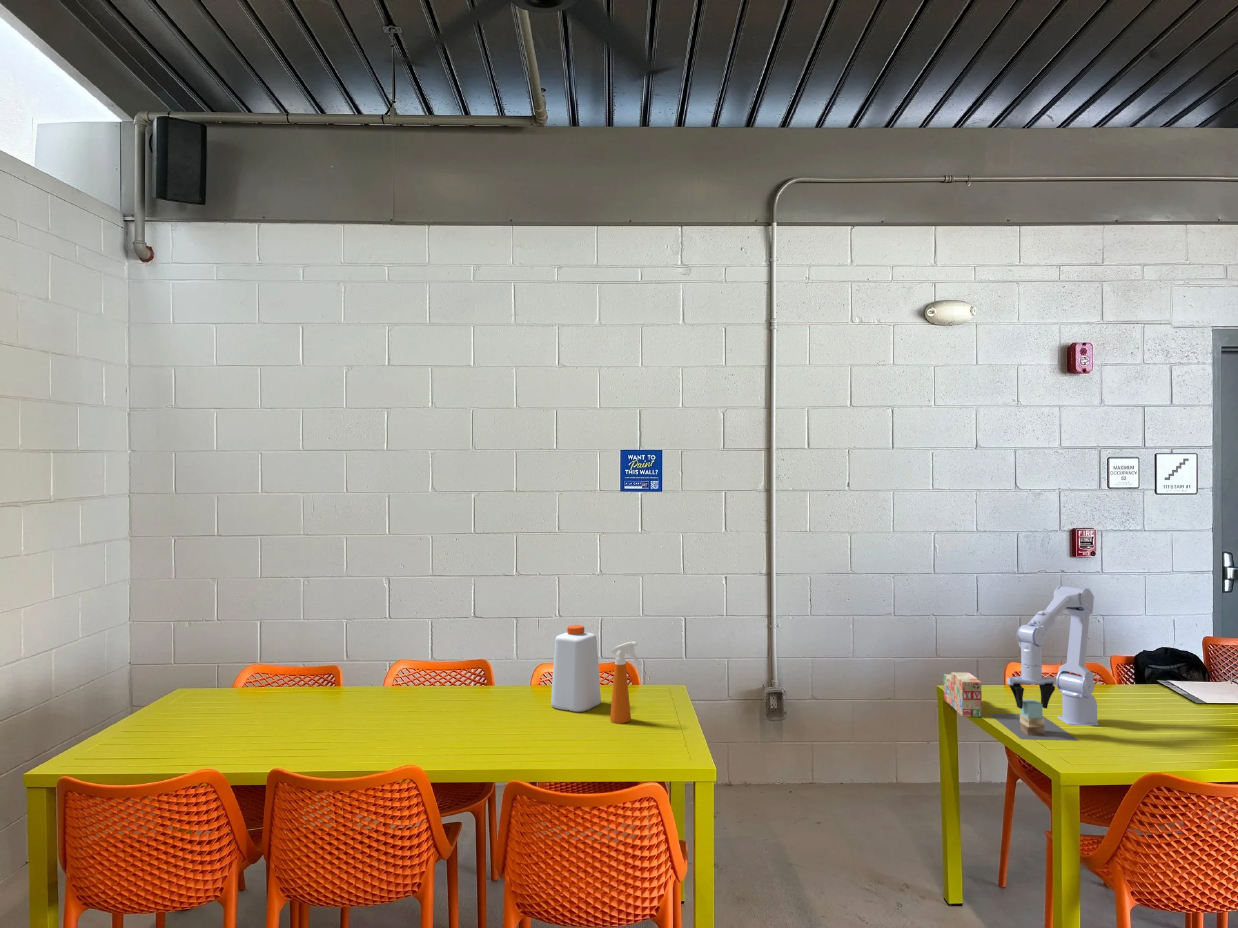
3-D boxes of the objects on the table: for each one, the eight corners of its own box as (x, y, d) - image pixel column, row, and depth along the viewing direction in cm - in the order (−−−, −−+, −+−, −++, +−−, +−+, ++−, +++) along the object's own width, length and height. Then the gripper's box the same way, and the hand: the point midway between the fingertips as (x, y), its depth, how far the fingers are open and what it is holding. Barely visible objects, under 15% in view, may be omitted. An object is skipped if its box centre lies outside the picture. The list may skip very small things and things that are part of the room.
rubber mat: (1040, 715, 263) (1040, 714, 263) (1079, 741, 237) (1079, 740, 237) (988, 714, 265) (988, 713, 265) (1021, 739, 239) (1021, 738, 239)
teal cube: (1035, 713, 248) (1034, 699, 248) (1042, 718, 243) (1042, 703, 243) (1020, 713, 248) (1020, 699, 248) (1028, 718, 243) (1027, 703, 243)
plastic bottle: (582, 714, 267) (582, 632, 268) (546, 707, 275) (546, 628, 275) (605, 702, 280) (605, 624, 281) (570, 697, 288) (569, 621, 288)
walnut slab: (1037, 730, 247) (1036, 722, 247) (1044, 735, 242) (1044, 727, 242) (1020, 729, 248) (1020, 721, 248) (1027, 734, 243) (1027, 726, 243)
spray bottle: (640, 724, 255) (639, 644, 256) (607, 722, 258) (607, 642, 258) (643, 718, 262) (643, 639, 263) (612, 716, 265) (612, 638, 265)
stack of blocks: (943, 699, 283) (943, 665, 283) (961, 700, 282) (961, 665, 282) (962, 717, 261) (962, 680, 262) (982, 718, 261) (981, 681, 261)
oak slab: (1035, 721, 248) (1035, 713, 248) (1044, 726, 243) (1044, 718, 243) (1019, 722, 247) (1019, 714, 247) (1029, 727, 242) (1028, 719, 242)
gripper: (1047, 660, 249) (1048, 703, 249) (1002, 661, 249) (1002, 703, 249) (1060, 666, 242) (1060, 710, 242) (1012, 666, 242) (1013, 710, 242)
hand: (1032, 707), depth 245 cm, fingers open, 7 cm apart
